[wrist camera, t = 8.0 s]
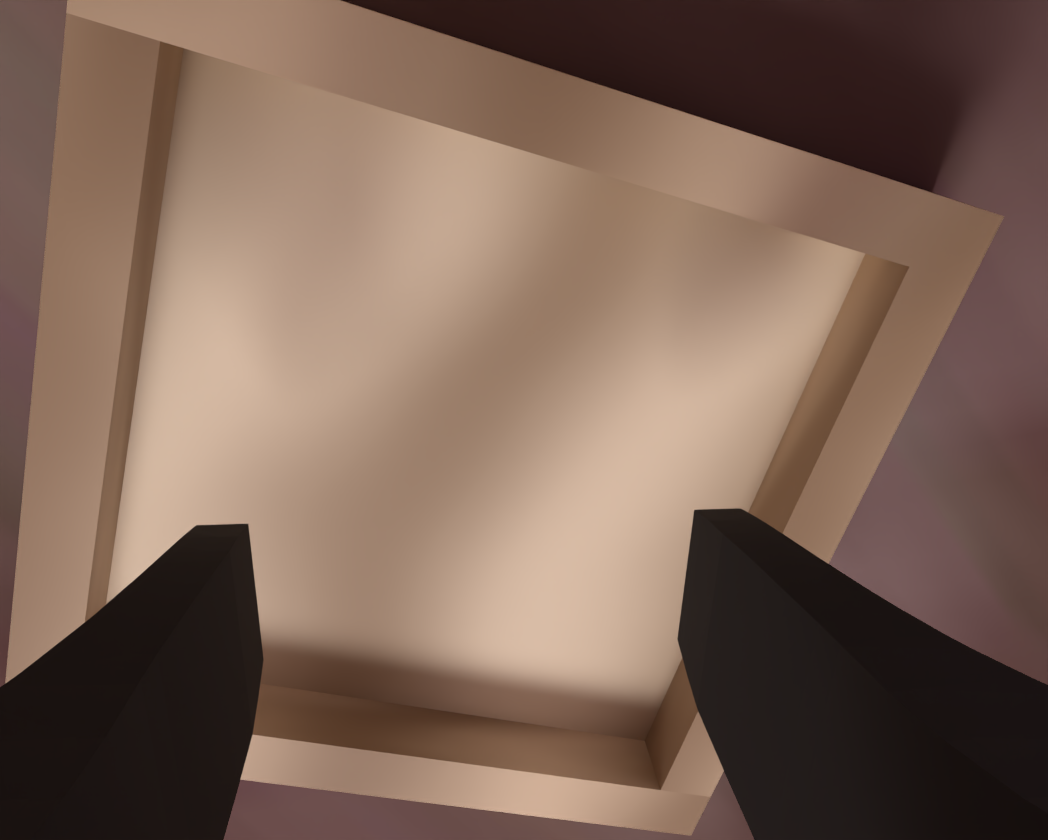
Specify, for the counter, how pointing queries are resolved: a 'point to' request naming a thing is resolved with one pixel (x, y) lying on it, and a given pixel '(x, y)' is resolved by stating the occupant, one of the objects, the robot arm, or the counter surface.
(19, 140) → the counter surface
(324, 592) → the tray
